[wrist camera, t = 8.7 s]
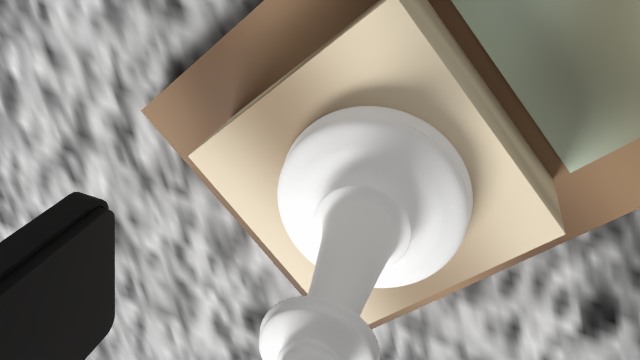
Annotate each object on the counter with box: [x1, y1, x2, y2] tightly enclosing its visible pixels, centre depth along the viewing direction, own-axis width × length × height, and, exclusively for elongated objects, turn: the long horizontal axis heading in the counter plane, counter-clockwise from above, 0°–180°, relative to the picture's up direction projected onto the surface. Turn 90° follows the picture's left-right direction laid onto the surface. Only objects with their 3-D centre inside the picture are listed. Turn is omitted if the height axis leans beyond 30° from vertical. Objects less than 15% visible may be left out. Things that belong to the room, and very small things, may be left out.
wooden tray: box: [141, 0, 640, 329], centre depth 15 cm, size 18×11×4 cm, turn 130°
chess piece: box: [259, 106, 473, 360], centre depth 10 cm, size 5×5×10 cm
